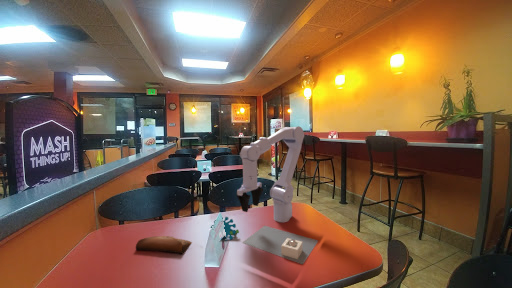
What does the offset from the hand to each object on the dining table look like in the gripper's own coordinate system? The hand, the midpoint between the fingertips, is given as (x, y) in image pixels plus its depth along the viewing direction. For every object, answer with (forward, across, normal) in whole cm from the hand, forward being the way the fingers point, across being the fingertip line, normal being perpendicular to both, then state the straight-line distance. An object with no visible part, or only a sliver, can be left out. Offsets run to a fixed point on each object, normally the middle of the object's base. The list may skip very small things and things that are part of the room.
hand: (250, 208), depth 84 cm
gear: (+10, +10, -5) cm, 15 cm away
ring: (+9, +6, +21) cm, 23 cm away
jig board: (+10, +2, +14) cm, 18 cm away
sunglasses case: (+11, +25, -20) cm, 34 cm away
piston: (+10, +6, +21) cm, 24 cm away
